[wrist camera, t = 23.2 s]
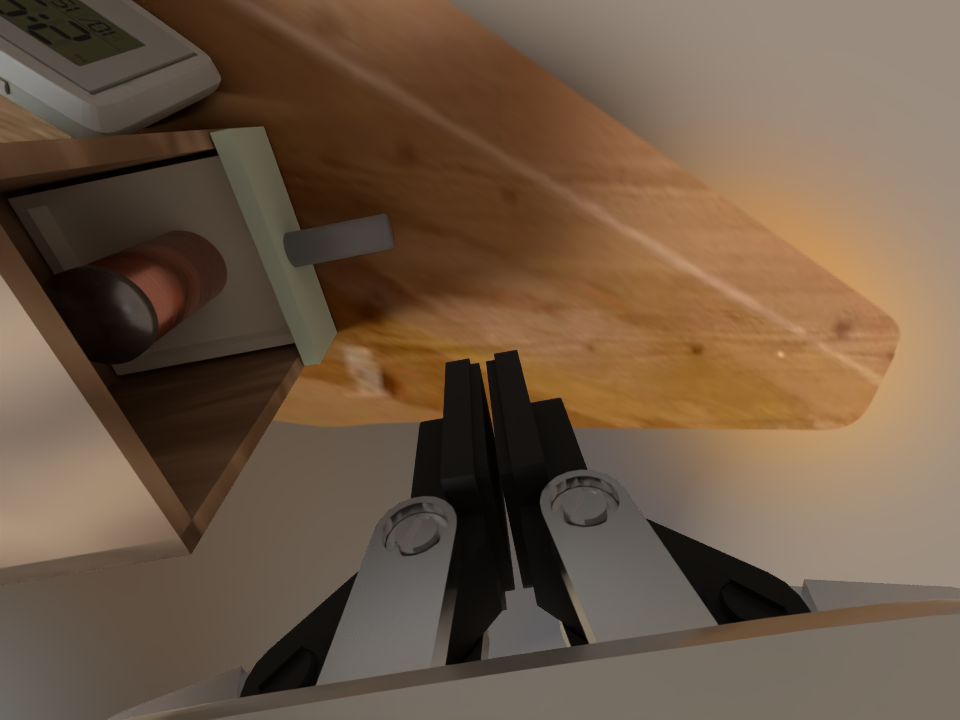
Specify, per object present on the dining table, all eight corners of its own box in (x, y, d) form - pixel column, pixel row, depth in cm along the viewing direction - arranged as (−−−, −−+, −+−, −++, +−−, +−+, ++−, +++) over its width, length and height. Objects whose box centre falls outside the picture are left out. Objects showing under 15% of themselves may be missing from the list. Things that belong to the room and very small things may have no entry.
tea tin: (214, 225, 33) (125, 265, 24) (238, 299, 35) (166, 359, 26) (136, 232, 33) (17, 275, 24) (165, 305, 35) (68, 368, 26)
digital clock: (242, 83, 31) (146, 68, 21) (168, 183, 33) (53, 210, 24) (-22, -178, 25) (-315, -355, 16) (-87, -31, 28) (-372, -107, 18)
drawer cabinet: (22, 173, 33) (-612, 260, 13) (244, 127, 32) (-86, 148, 13) (140, 370, 40) (-157, 612, 21) (322, 336, 39) (191, 554, 20)
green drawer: (39, 172, 33) (-32, 183, 28) (364, 105, 32) (347, 104, 27) (152, 366, 40) (111, 401, 35) (419, 317, 39) (414, 345, 34)
